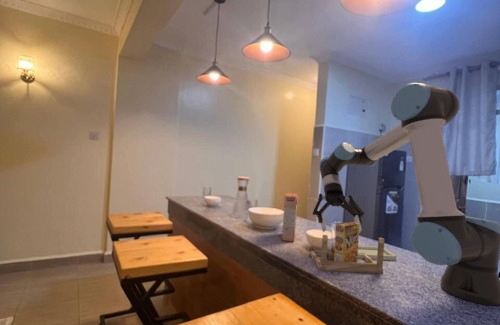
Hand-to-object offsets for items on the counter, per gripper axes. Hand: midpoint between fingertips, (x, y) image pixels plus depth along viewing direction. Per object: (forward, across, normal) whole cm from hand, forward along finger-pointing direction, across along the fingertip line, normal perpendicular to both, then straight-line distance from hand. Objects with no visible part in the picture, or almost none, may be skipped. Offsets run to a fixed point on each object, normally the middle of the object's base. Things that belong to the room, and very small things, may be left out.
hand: (342, 230), depth 107 cm
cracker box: (-11, +16, -28) cm, 34 cm away
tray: (+2, -15, -14) cm, 21 cm away
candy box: (+11, 0, -5) cm, 12 cm away
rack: (+10, 0, -6) cm, 12 cm away
